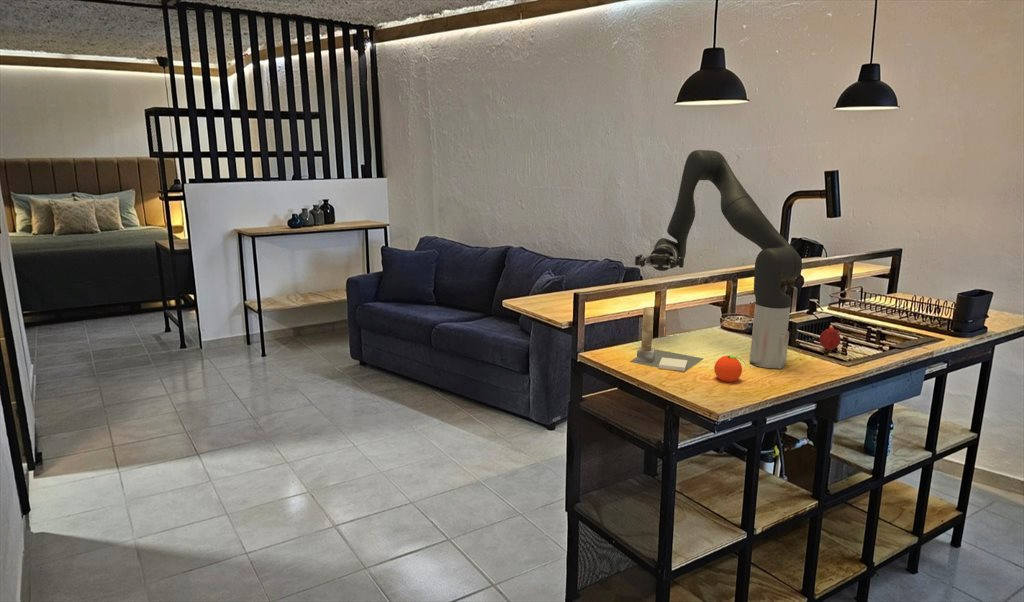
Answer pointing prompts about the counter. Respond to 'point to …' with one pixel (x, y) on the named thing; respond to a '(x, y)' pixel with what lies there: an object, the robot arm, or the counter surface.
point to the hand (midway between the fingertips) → (656, 264)
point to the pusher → (646, 337)
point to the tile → (673, 364)
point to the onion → (830, 338)
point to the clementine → (728, 368)
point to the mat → (659, 354)
